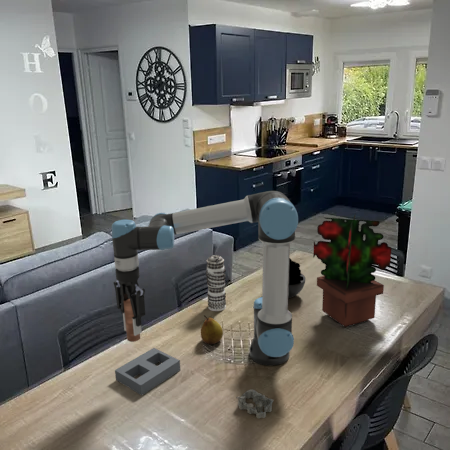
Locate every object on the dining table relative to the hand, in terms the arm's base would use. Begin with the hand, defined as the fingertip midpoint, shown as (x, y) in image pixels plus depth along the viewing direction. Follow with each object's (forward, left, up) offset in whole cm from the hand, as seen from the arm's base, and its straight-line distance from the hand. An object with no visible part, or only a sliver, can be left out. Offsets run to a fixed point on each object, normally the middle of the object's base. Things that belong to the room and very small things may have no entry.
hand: (133, 331), depth 154 cm
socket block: (0, -5, -20) cm, 20 cm away
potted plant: (-38, -86, -20) cm, 96 cm away
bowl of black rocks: (-4, -88, -20) cm, 90 cm away
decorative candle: (+15, -60, -20) cm, 65 cm away
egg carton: (-41, -14, -20) cm, 48 cm away
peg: (0, 0, -3) cm, 3 cm away
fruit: (-3, -36, -20) cm, 41 cm away
